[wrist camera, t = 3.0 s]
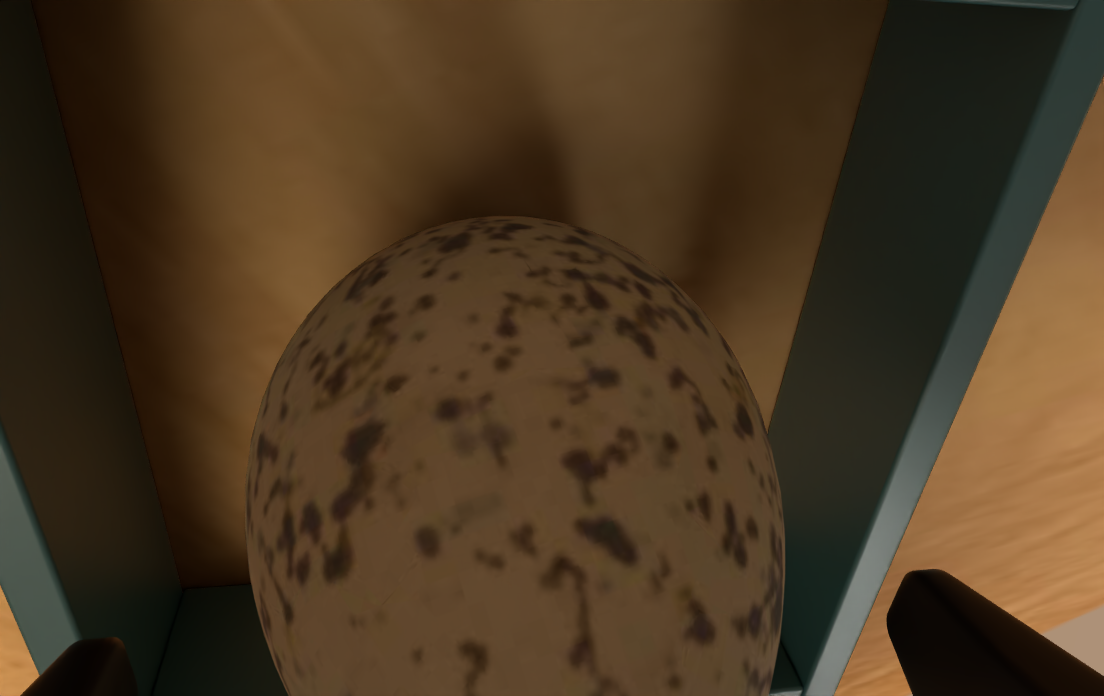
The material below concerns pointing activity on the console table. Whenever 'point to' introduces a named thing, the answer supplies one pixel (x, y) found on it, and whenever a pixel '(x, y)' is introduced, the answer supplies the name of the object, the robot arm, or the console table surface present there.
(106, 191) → the console table surface
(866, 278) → the frame
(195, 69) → the console table surface
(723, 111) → the console table surface
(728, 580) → the decorative egg
